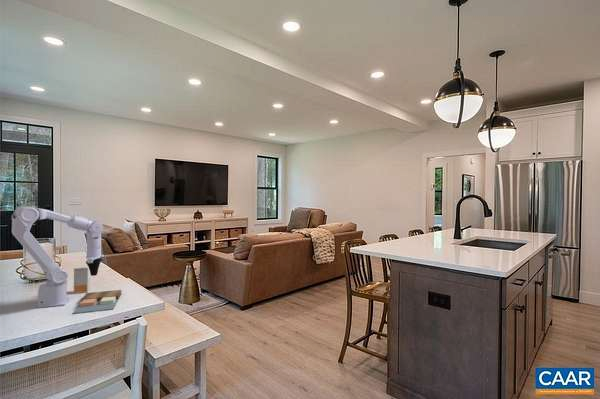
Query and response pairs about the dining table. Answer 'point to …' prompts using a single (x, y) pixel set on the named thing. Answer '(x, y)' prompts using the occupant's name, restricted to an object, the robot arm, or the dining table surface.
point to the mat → (95, 307)
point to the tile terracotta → (88, 302)
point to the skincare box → (82, 279)
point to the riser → (102, 295)
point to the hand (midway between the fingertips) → (94, 275)
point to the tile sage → (107, 300)
